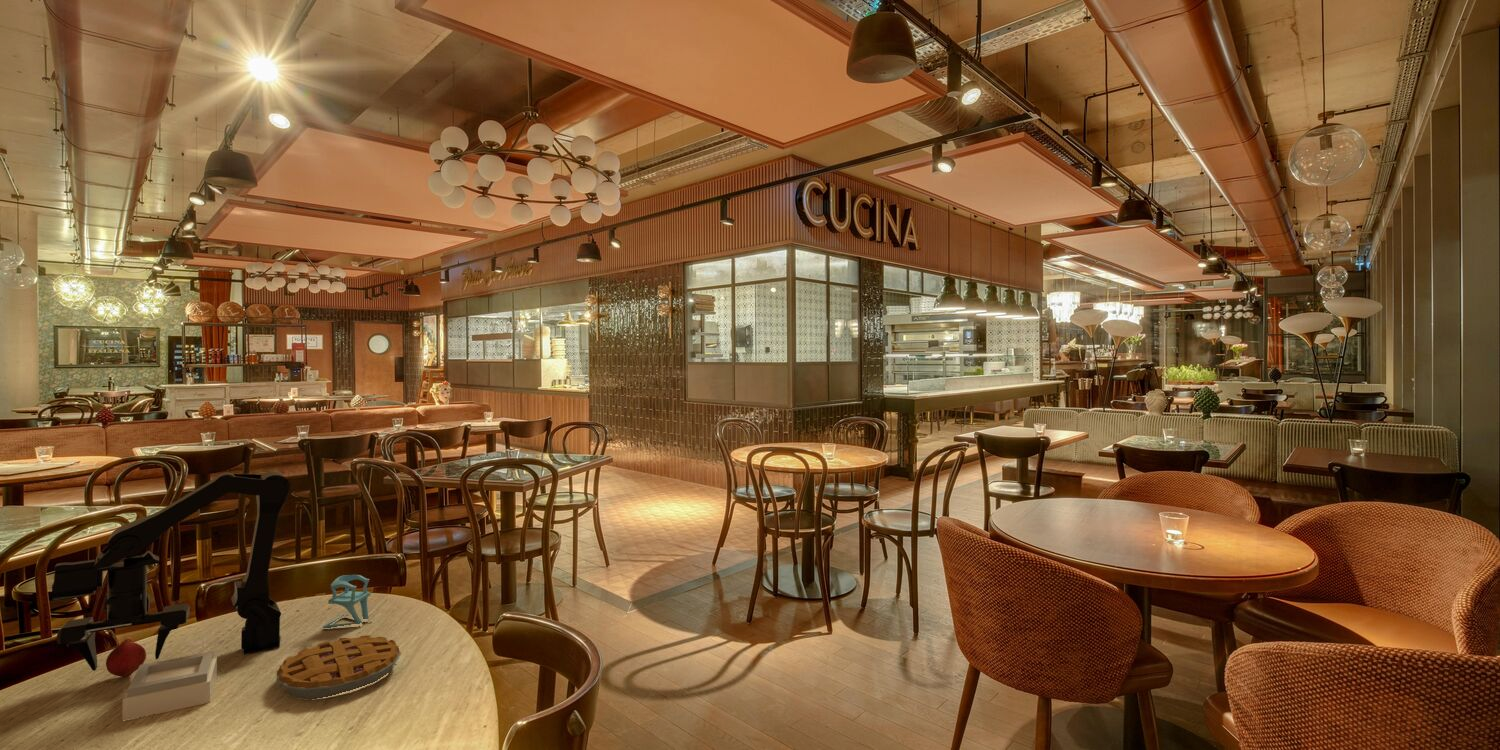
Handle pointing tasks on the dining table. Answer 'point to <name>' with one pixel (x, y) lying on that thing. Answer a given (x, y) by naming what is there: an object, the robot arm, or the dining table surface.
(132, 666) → the onion
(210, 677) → the display pedestal
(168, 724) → the dining table surface
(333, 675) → the pie
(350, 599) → the chair
